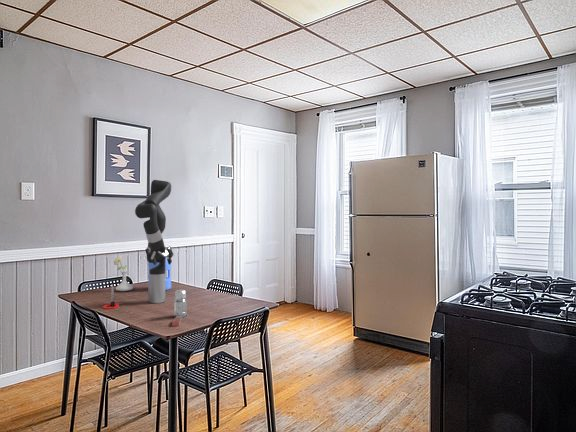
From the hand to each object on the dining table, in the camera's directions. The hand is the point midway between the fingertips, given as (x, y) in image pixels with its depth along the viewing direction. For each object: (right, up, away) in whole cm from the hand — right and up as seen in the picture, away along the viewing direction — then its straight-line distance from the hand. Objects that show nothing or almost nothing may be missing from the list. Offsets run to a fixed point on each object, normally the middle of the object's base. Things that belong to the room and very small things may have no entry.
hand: (162, 263), depth 229 cm
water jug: (-22, -26, +66) cm, 74 cm away
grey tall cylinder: (+12, -24, -7) cm, 28 cm away
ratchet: (+13, -27, -15) cm, 33 cm away
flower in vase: (-45, -26, +59) cm, 79 cm away
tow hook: (-34, -27, +12) cm, 45 cm away
